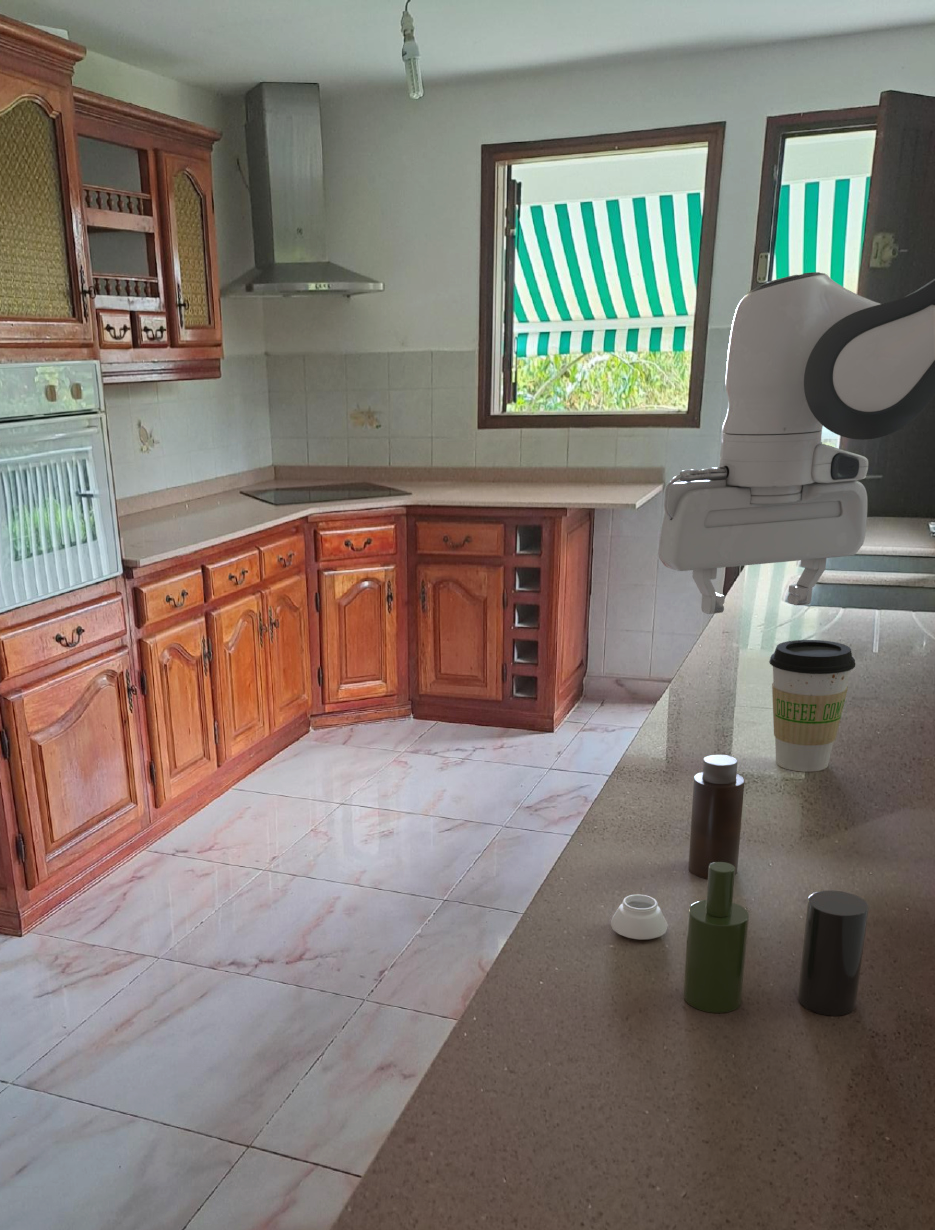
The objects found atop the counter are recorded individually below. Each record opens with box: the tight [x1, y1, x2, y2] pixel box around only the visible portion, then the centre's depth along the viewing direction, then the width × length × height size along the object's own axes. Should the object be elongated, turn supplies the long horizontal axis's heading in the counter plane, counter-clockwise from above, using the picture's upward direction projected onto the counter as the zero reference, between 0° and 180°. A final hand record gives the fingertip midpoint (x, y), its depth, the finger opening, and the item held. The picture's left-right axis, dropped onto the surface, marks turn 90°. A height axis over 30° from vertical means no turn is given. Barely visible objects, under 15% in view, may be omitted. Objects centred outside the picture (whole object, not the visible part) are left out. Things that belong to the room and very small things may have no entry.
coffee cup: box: [768, 639, 856, 773], centre depth 140 cm, size 10×10×15 cm
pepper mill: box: [687, 754, 745, 880], centre depth 113 cm, size 5×5×12 cm
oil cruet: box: [682, 862, 750, 1014], centre depth 91 cm, size 5×5×12 cm
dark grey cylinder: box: [797, 890, 870, 1017], centre depth 90 cm, size 4×4×9 cm
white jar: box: [610, 894, 669, 941], centre depth 104 cm, size 5×3×5 cm
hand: (755, 608), depth 111 cm, fingers open, 8 cm apart
